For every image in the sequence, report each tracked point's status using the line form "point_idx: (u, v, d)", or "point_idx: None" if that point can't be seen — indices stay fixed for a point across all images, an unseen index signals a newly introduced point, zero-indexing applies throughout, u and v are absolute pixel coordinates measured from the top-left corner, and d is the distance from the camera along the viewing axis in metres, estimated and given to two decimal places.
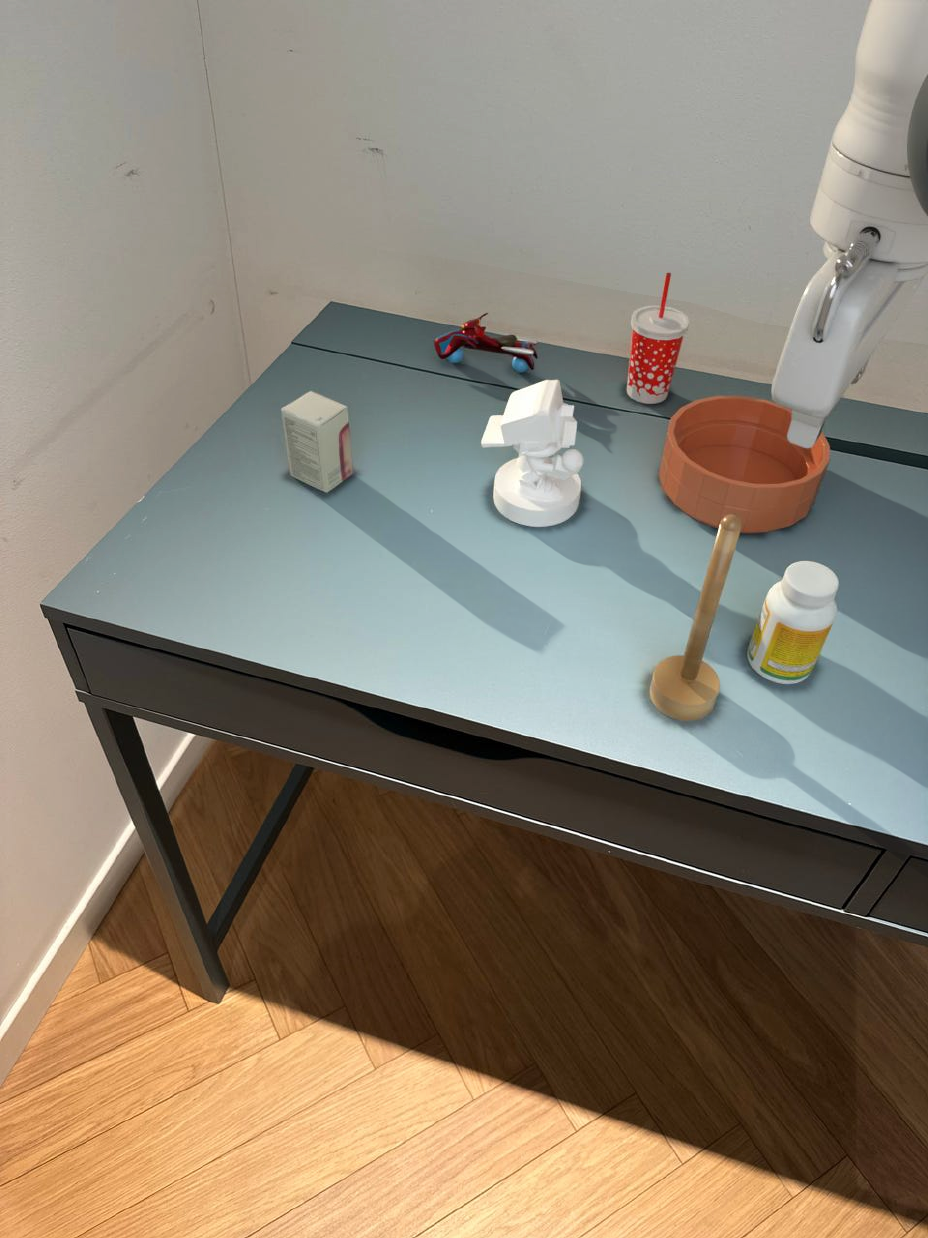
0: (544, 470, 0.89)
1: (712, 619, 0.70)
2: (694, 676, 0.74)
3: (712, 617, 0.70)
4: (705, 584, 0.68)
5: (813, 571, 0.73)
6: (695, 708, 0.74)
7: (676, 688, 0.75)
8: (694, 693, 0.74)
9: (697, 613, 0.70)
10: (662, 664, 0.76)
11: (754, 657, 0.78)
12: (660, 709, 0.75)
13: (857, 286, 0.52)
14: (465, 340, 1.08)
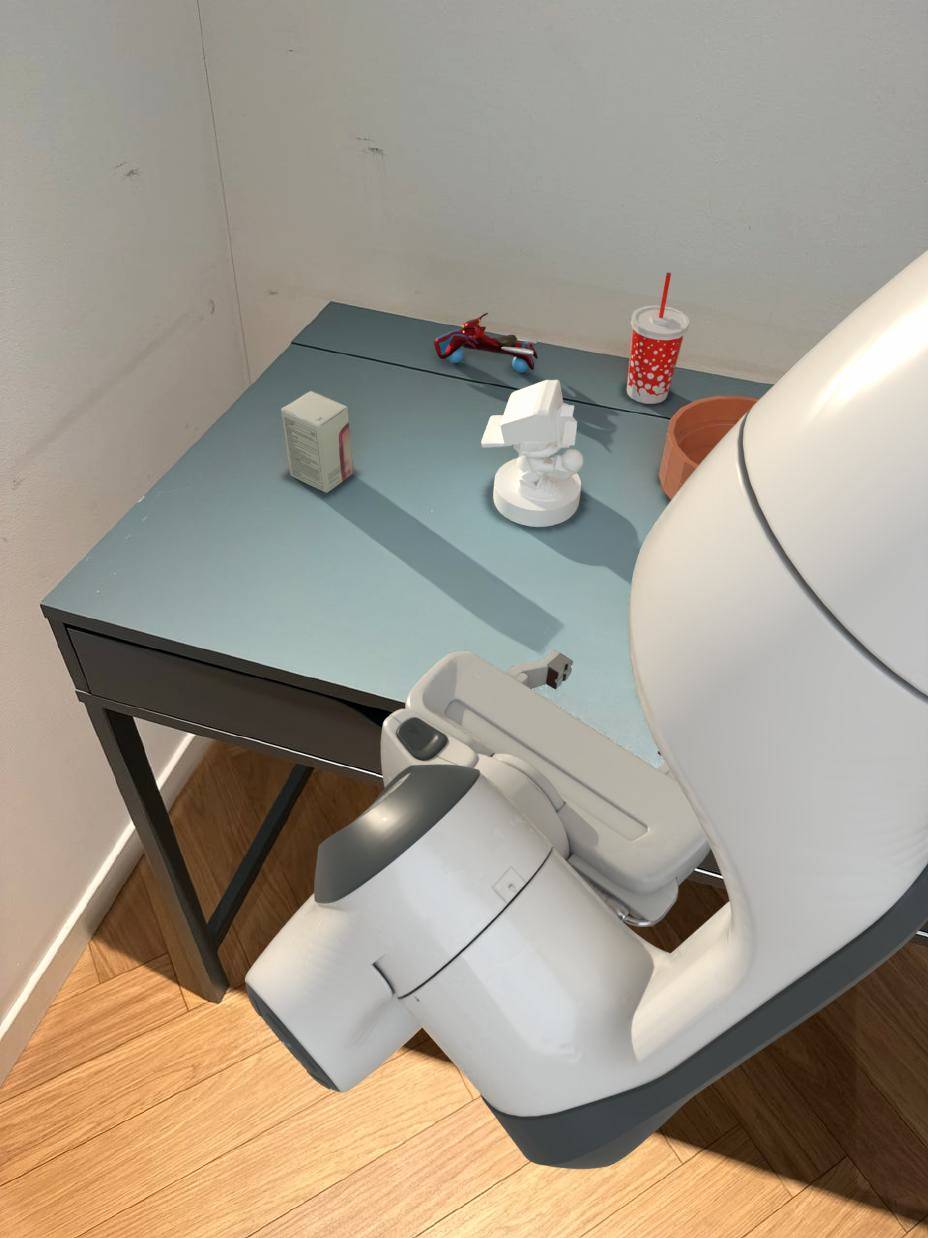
0: (544, 470, 0.89)
1: None
2: None
3: None
4: None
5: None
6: None
7: None
8: None
9: None
10: None
11: None
12: None
13: (624, 884, 0.52)
14: (465, 340, 1.08)
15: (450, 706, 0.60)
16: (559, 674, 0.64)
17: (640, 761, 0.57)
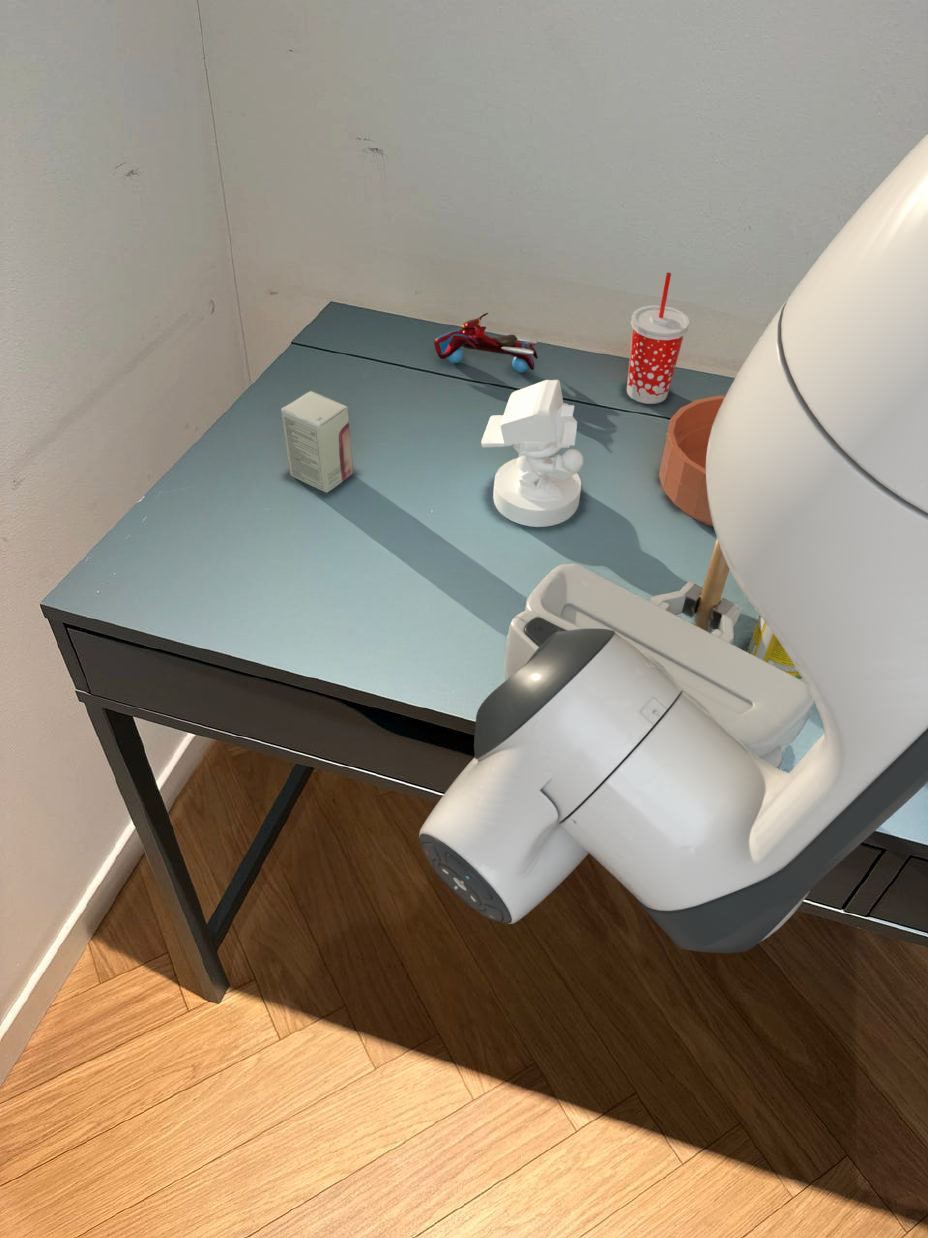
0: (544, 470, 0.89)
1: None
2: None
3: None
4: (706, 584, 0.68)
5: None
6: None
7: None
8: None
9: (697, 613, 0.70)
10: None
11: None
12: None
13: None
14: (465, 340, 1.08)
15: (564, 610, 0.67)
16: (696, 603, 0.69)
17: (739, 650, 0.64)
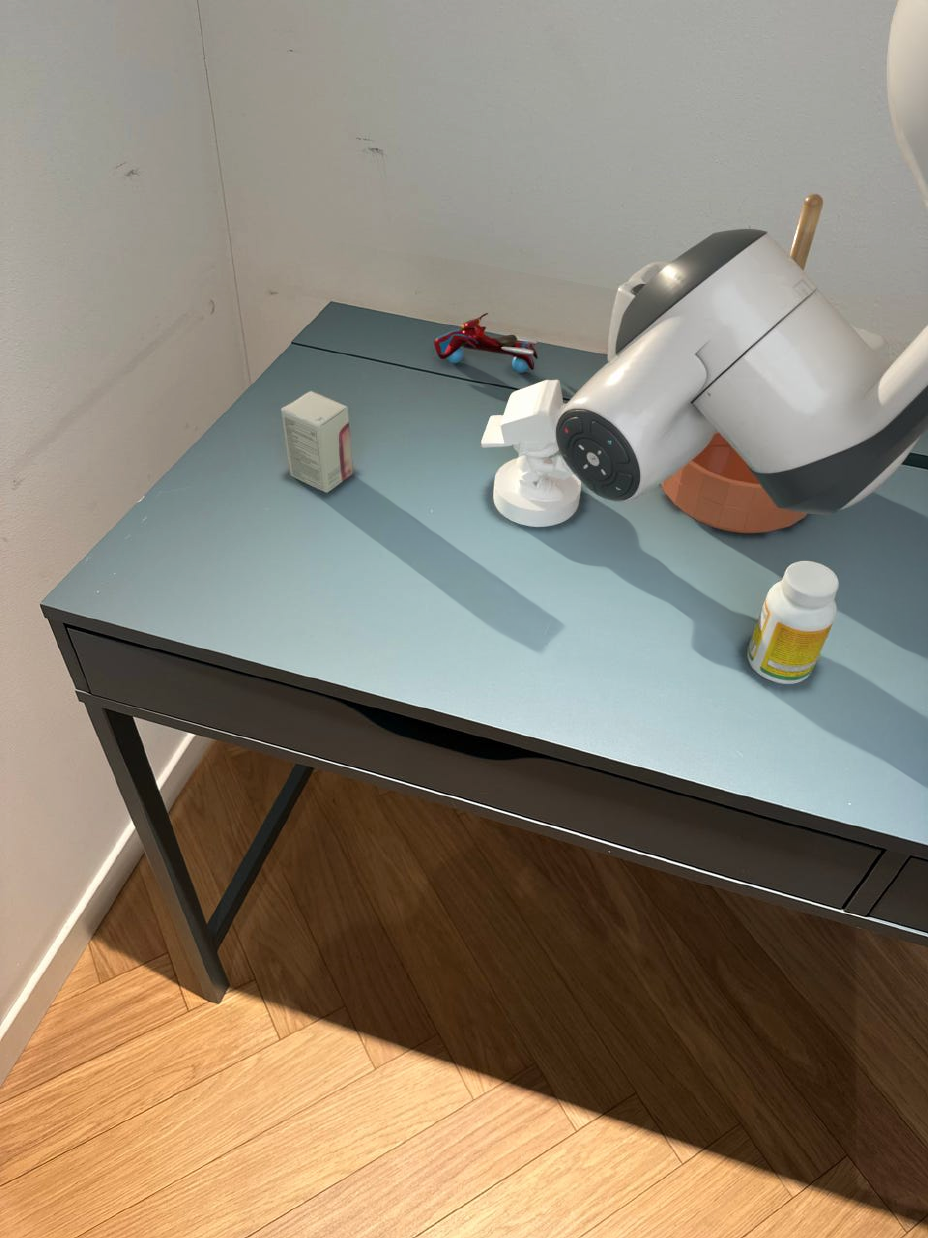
0: (544, 470, 0.89)
1: None
2: None
3: None
4: None
5: (813, 571, 0.73)
6: None
7: None
8: None
9: None
10: None
11: (754, 657, 0.78)
12: None
13: None
14: (465, 340, 1.08)
15: None
16: None
17: None
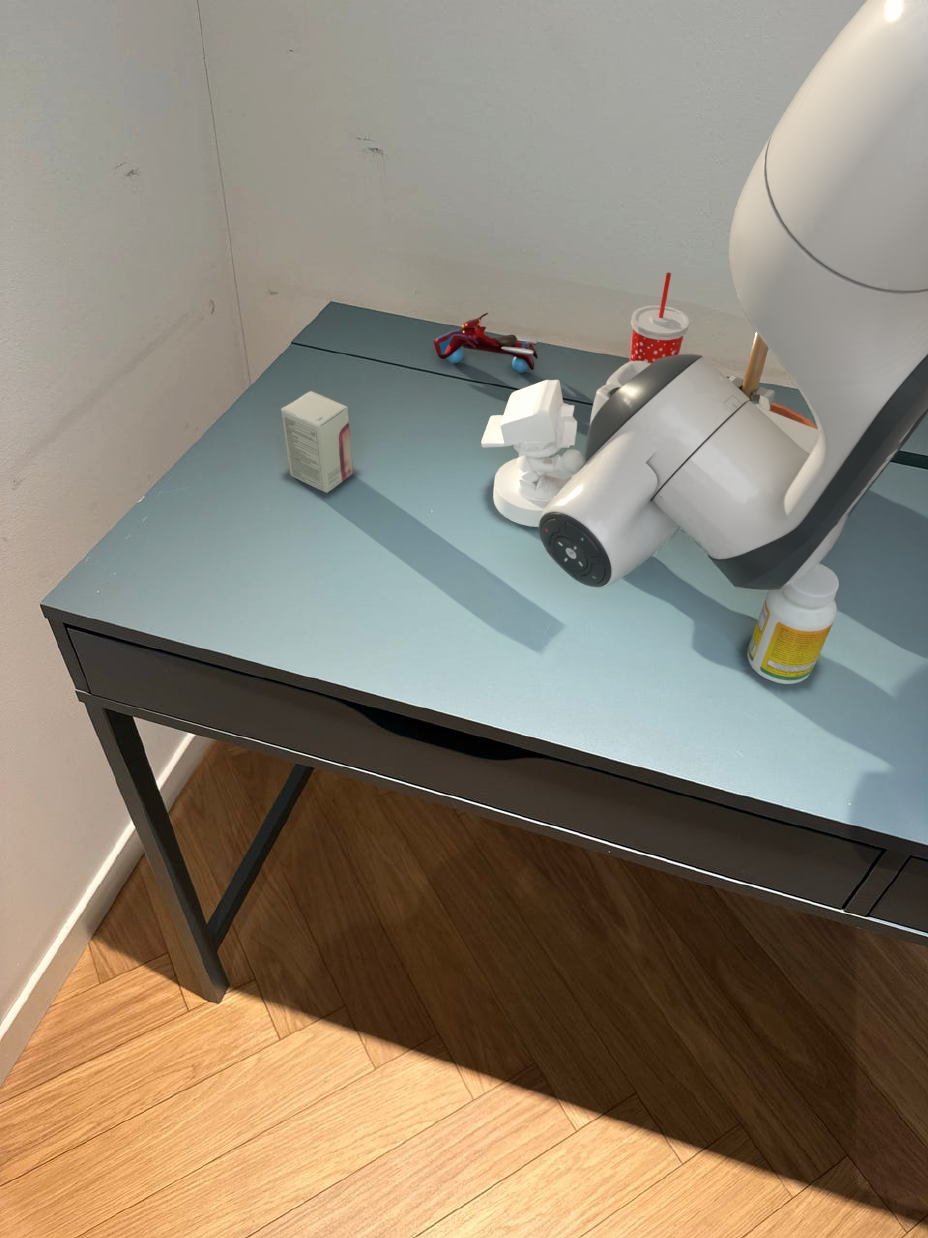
0: (544, 470, 0.89)
1: None
2: None
3: None
4: (747, 371, 0.86)
5: (813, 571, 0.73)
6: None
7: None
8: None
9: None
10: None
11: (754, 657, 0.78)
12: None
13: None
14: (465, 340, 1.08)
15: None
16: (739, 389, 0.87)
17: (775, 413, 0.82)
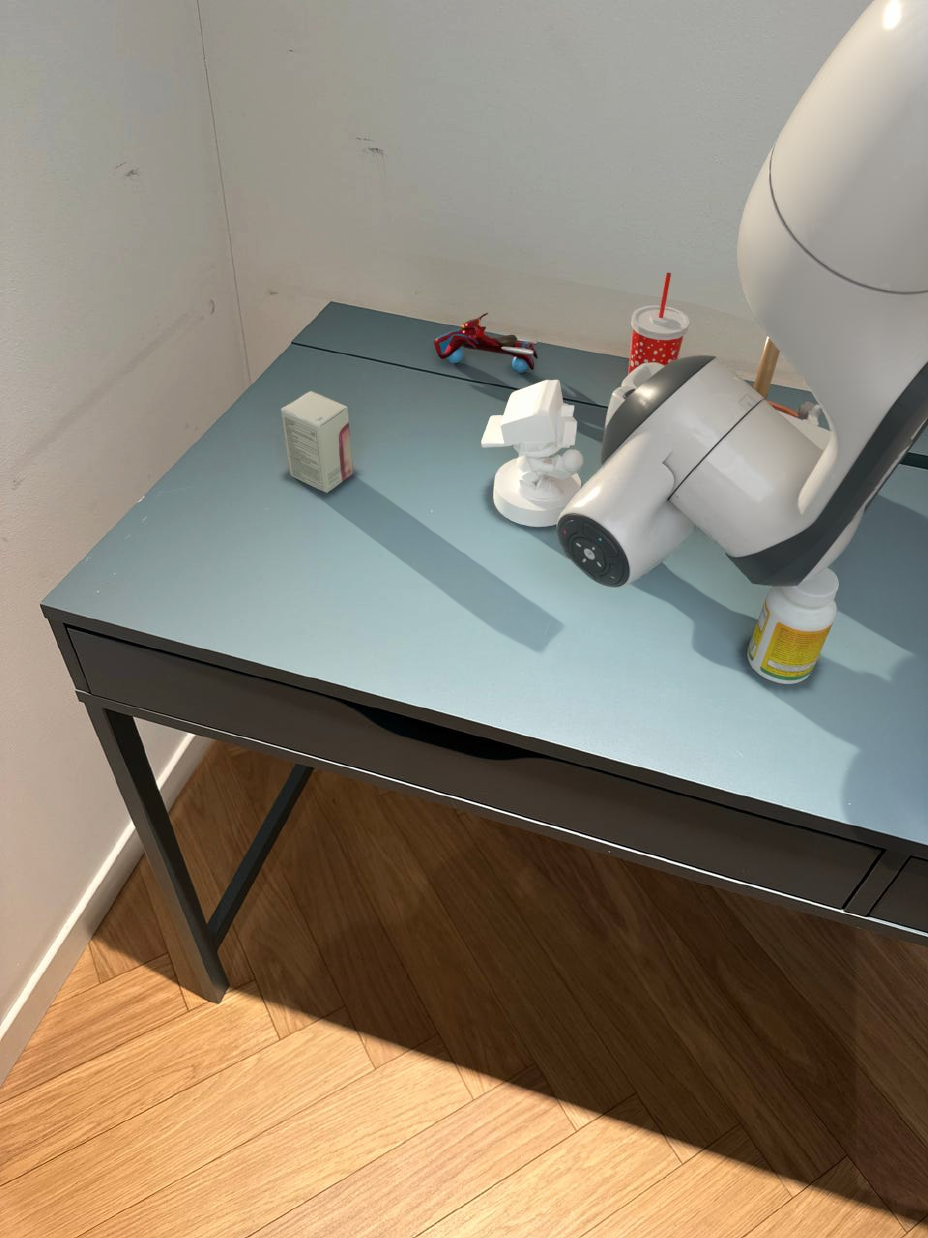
0: (544, 470, 0.89)
1: None
2: None
3: None
4: (758, 373, 0.87)
5: None
6: None
7: None
8: None
9: None
10: None
11: (754, 657, 0.78)
12: None
13: None
14: (465, 340, 1.08)
15: None
16: None
17: (789, 415, 0.83)
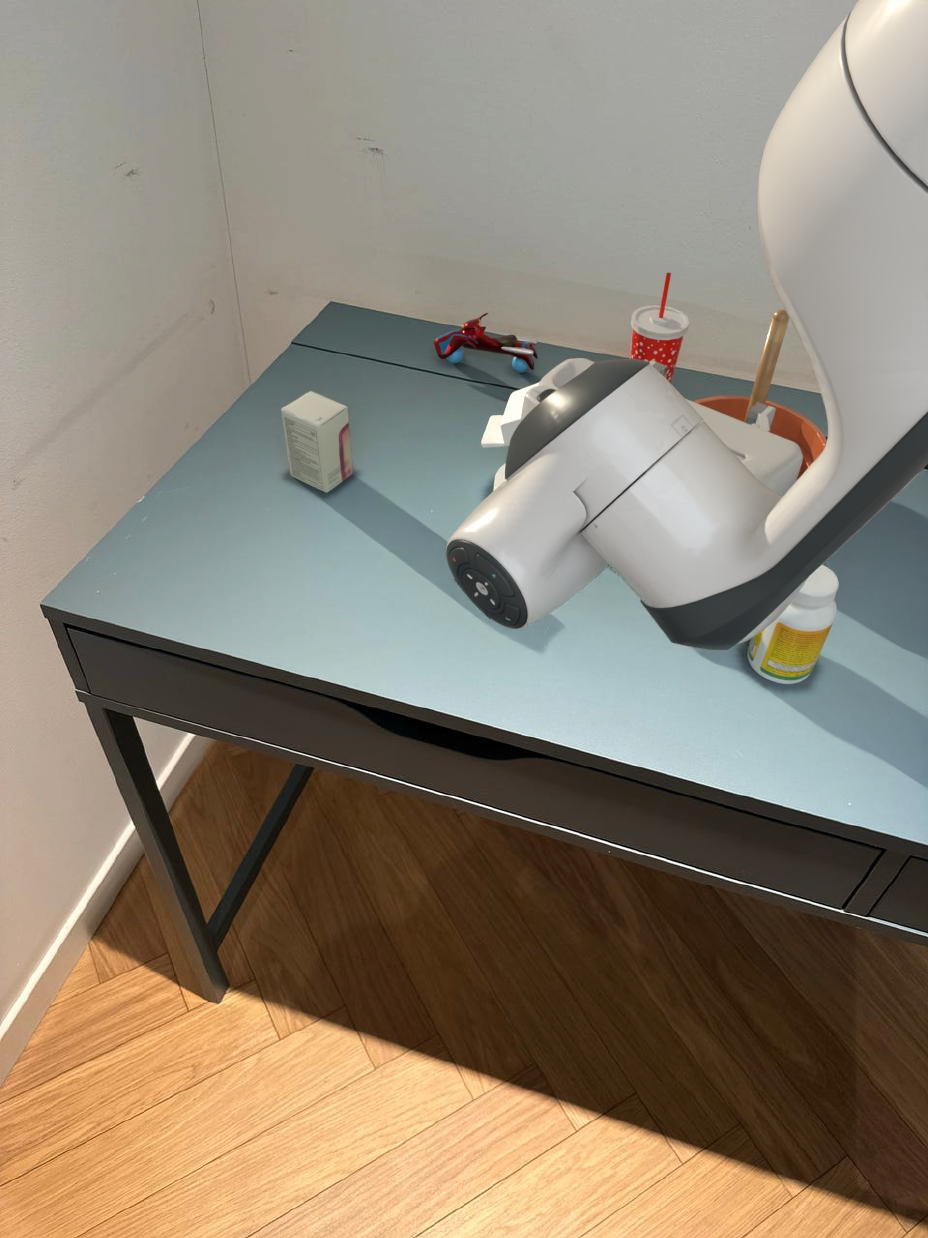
0: None
1: None
2: None
3: (763, 403, 0.88)
4: (758, 373, 0.87)
5: None
6: None
7: None
8: None
9: (750, 400, 0.89)
10: None
11: (754, 657, 0.78)
12: None
13: None
14: (465, 340, 1.08)
15: None
16: None
17: (734, 419, 0.70)
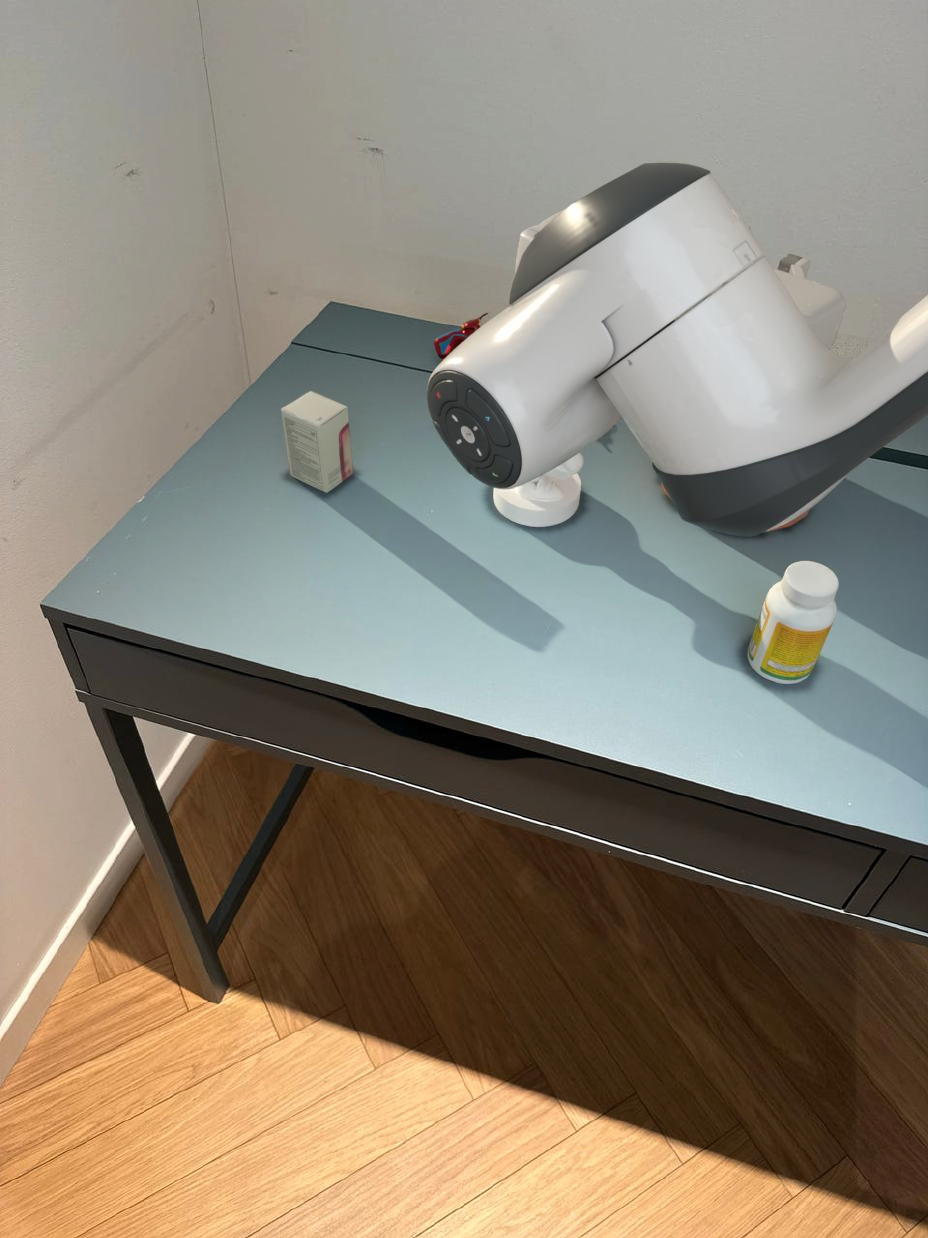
0: None
1: None
2: None
3: None
4: None
5: (813, 571, 0.73)
6: None
7: None
8: None
9: None
10: None
11: (754, 657, 0.78)
12: None
13: None
14: None
15: None
16: None
17: None
